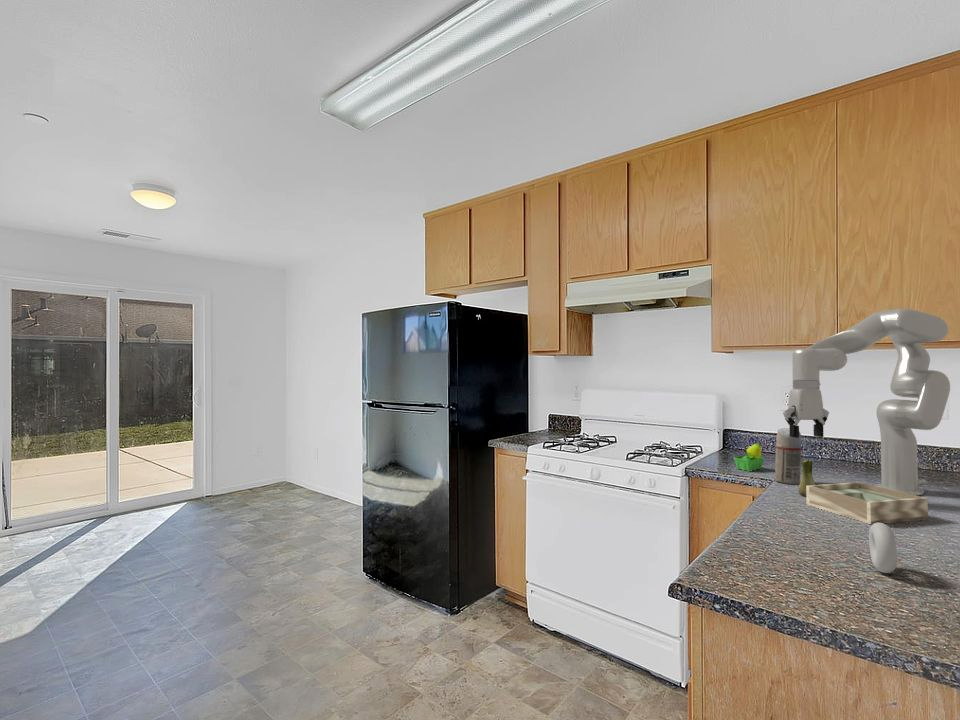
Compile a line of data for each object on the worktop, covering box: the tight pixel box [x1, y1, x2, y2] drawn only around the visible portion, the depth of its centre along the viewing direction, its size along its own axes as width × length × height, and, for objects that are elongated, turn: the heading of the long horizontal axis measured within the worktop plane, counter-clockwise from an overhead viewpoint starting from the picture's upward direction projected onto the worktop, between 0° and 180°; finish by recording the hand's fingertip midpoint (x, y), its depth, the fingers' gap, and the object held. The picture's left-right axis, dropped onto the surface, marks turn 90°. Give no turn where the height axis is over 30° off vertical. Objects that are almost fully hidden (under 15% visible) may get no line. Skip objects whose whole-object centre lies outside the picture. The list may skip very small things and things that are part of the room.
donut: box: [868, 523, 898, 574], centre depth 102 cm, size 10×4×10 cm, turn 151°
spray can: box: [774, 427, 802, 485], centre depth 183 cm, size 8×8×20 cm
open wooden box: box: [805, 481, 929, 525], centre depth 144 cm, size 20×20×6 cm
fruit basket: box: [733, 443, 766, 472], centre depth 206 cm, size 11×9×11 cm
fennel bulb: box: [798, 459, 816, 497], centre depth 163 cm, size 6×5×12 cm
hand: (806, 436), depth 163 cm, fingers open, 9 cm apart
